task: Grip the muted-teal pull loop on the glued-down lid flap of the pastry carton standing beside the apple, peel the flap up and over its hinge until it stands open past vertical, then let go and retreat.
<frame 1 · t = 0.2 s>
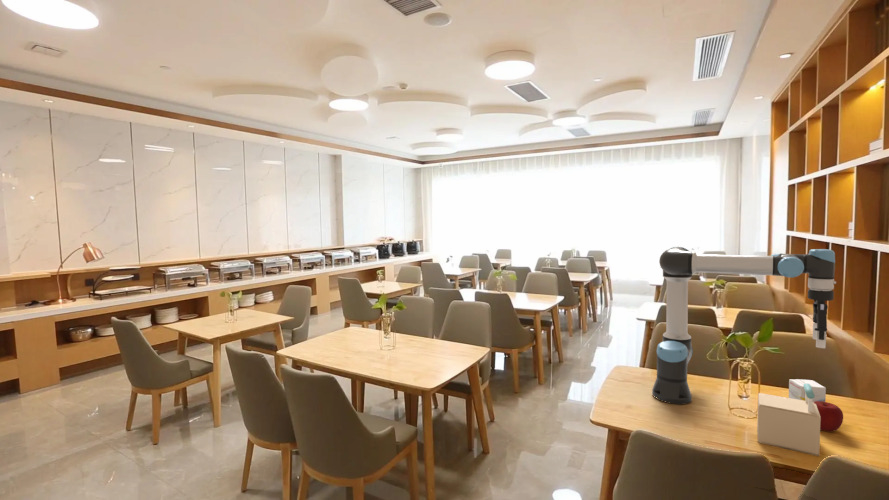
hand: (818, 343, 165), 28 cm above the table, fingers open, 13 cm apart
apple: (825, 430, 155), on the table
ink box: (806, 412, 169), on the table
carton: (786, 441, 147), on the table
flap: (786, 394, 146), point 17 cm above the table, hinge at 0.0°
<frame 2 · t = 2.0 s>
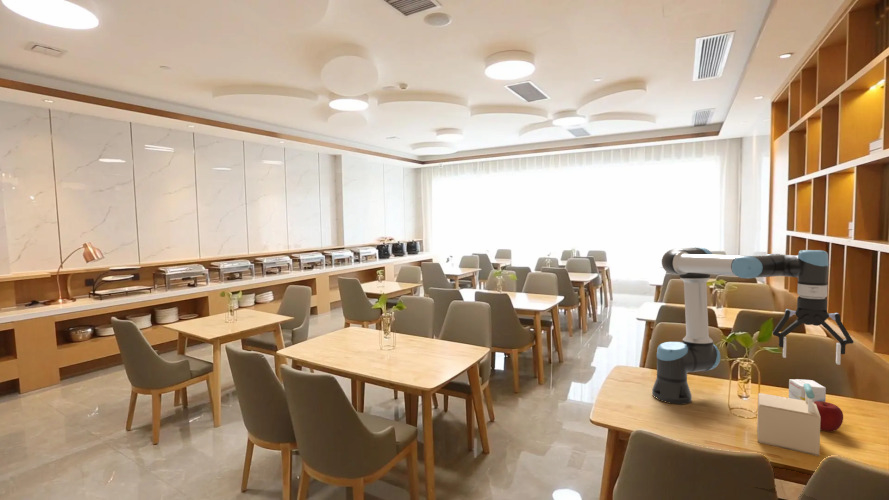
hand: (810, 360, 142), 30 cm above the table, fingers open, 13 cm apart
nothing on the table moved.
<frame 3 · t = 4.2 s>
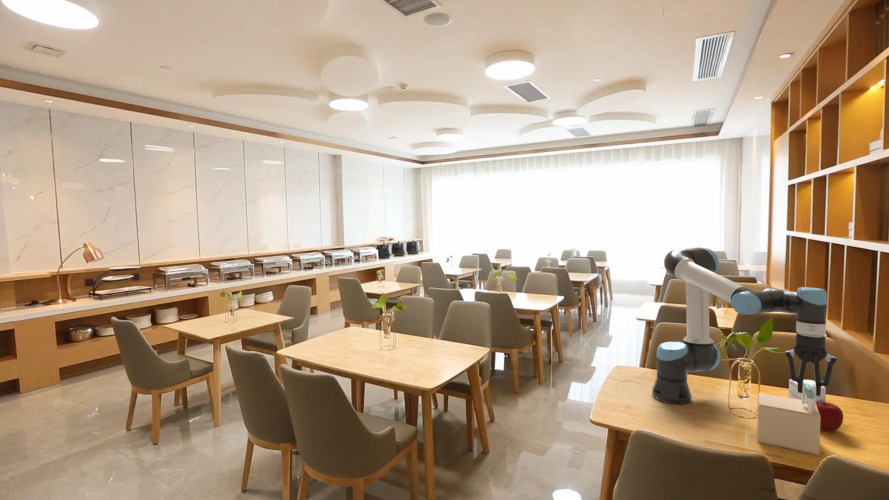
hand: (808, 403, 143), 15 cm above the table, fingers closed on flap, 2 cm apart
flap: (786, 394, 146), point 17 cm above the table, hinge at 0.1°, touching gripper
everything else where it was.
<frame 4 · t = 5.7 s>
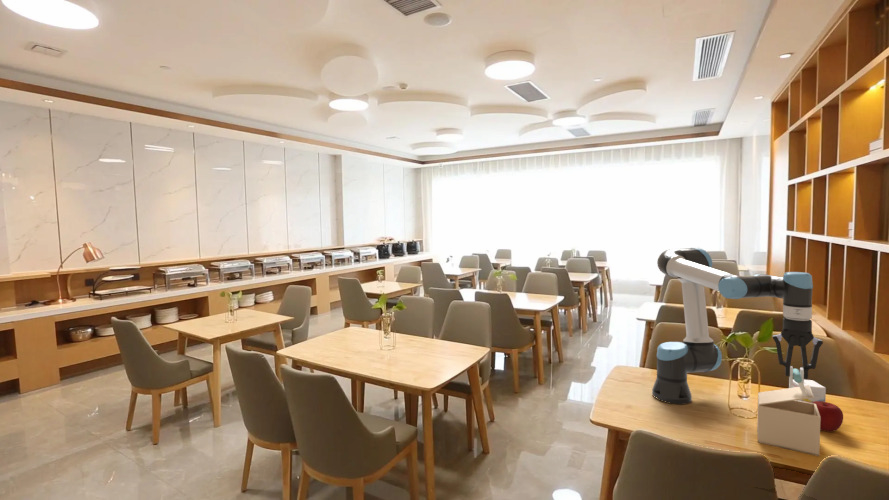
hand: (796, 386, 144), 20 cm above the table, fingers open, 2 cm apart
flap: (780, 385, 147), point 19 cm above the table, hinge at 22.1°, touching gripper
everything else where it was.
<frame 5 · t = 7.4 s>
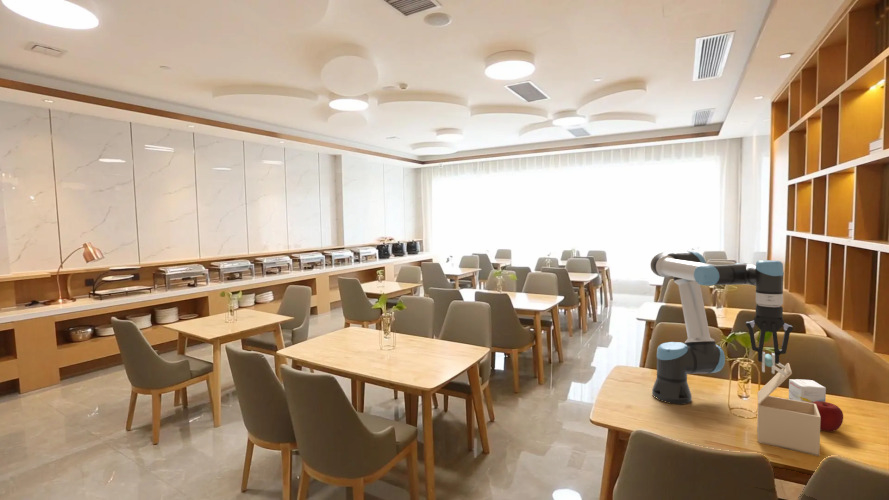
hand: (768, 371, 149), 24 cm above the table, fingers closed on flap, 2 cm apart
flap: (764, 376, 149), point 22 cm above the table, hinge at 56.1°, touching gripper
everything else where it was.
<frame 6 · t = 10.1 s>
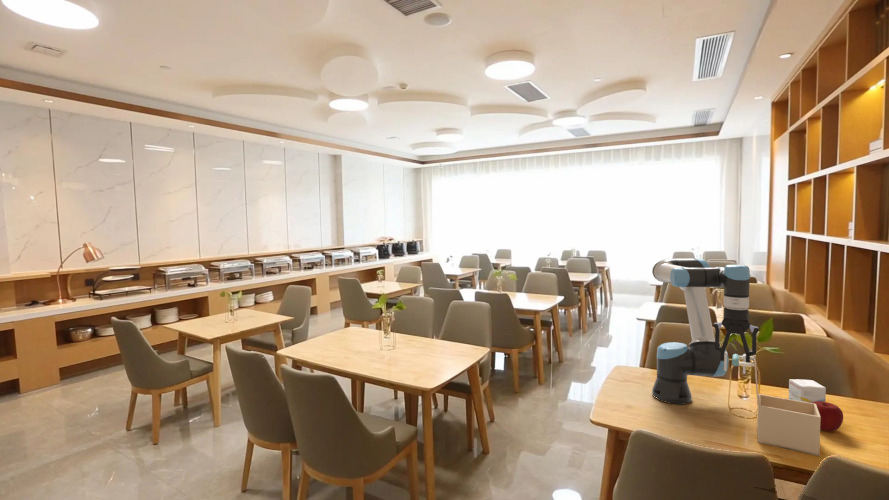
hand: (734, 371, 154), 22 cm above the table, fingers open, 5 cm apart
flap: (744, 376, 153), point 21 cm above the table, hinge at 94.1°, touching gripper
everything else where it was.
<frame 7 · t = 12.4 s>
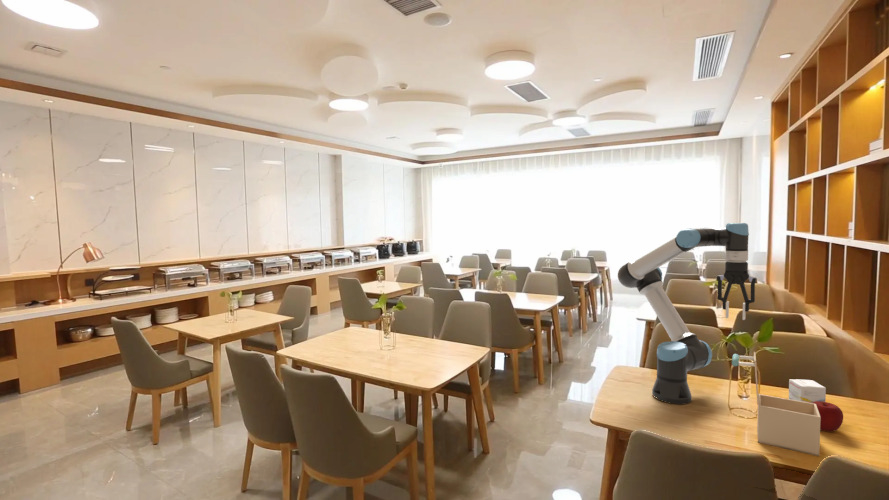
hand: (735, 318, 172), 37 cm above the table, fingers open, 5 cm apart
flap: (744, 376, 153), point 21 cm above the table, hinge at 94.0°
everything else where it was.
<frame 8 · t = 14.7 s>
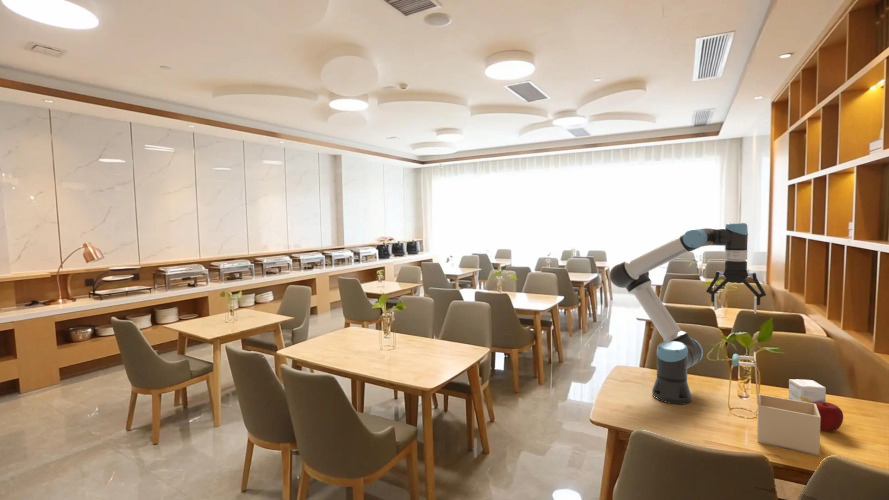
hand: (734, 311, 176), 39 cm above the table, fingers open, 13 cm apart
nothing on the table moved.
at the end: flap at +94° (first picture: +0°) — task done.
